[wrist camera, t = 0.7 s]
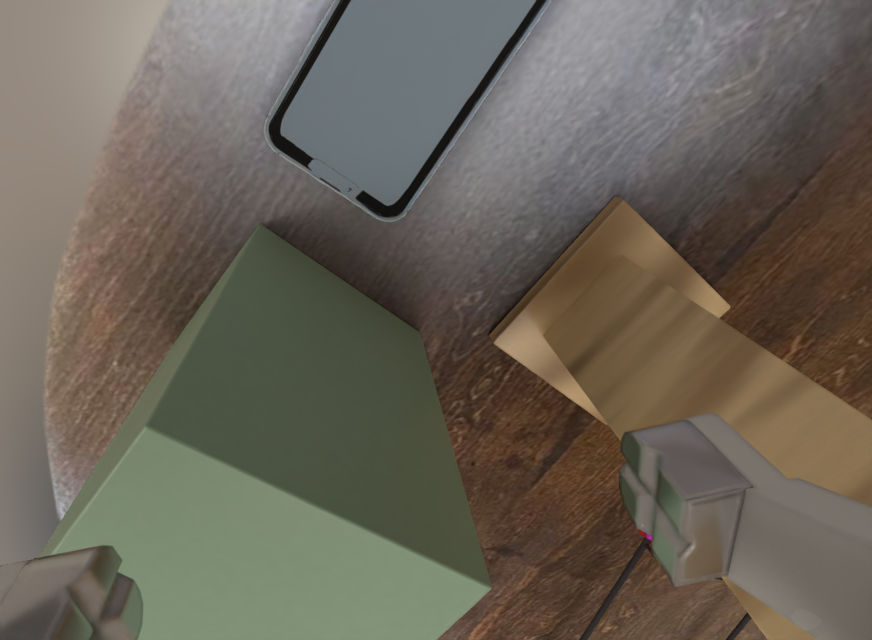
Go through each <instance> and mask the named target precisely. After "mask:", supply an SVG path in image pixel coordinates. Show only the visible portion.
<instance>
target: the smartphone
mask: <svg viewBox="0 0 872 640" xmlns="http://www.w3.org/2000/svg"><path fill="white" fill-rule="evenodd" d="M552 1H553V0H334V1H333V2H332V4H331V6H330V8H329V9H328V11H327V13H326V14H325V16H324V18H323V20H322V21H320V23H319V24H318V26H317V28H316V30H315V31H314V33H313V35H312V37H311V38H310V40H309V42H308V44H307V45H306V47H305V49H304V51H303V52H302V54H301V58H300V60H299V61H298V63H297V65H296V67H295V68H294V70H293V72H292V74H291V75H290V77H289V79H288V81H287V82H286V84H285V86H284V88H283V89H282V91H281V93H280V95H279V96H278V98H277V100H276V102H275V103H274V105H273V107H272V108H271V110H270V112H269V114H268V115H267V117H266V120H265V122H264V129H263V130H264V136H265V140H266V142H267V144H268V145H269V147H270V148H271V149H272V150H273V151H274V152H275V153H277V154H278V155H280V156H281V157H283V158H284V159H286V160H287V161H289V162H290V163H292V164H293V165H295V166H296V167H298V168H299V169H301V170H302V171H304V172H306V173H307V174H309V175H310V176H312V177H313V178H315V179H316V180H318V181H319V182H321V183H322V184H324V185H325V186H327V187H328V188H330V189H332V190H333V191H335V192H336V193H338V194H339V195H341V196H342V197H344V198H345V199H347V200H348V201H350V202H351V203H353V204H354V205H356V206H357V207H359V208H361V209H362V210H364V211H365V212H367V213H368V214H370V215H371V216H373V217H374V218H376V219H378V220H379V221H382V222H395V221H398V220H400V219H402V218H403V217H404V216H405V215H406V214H407V213H408V211H409V210H410V208H411V207H412V205H413V204H414V203H415V201H416V200H417V198H418V197H419V195H420V194H421V192H422V191H423V189H424V188H425V187H426V185H427V184H428V182H429V181H430V179H431V178H432V176H433V175H434V173H435V172H436V170H437V169H438V168H439V166H440V165H441V163H442V162H443V160H444V159H445V157H446V156H447V154H448V153H449V152H450V150H451V149H452V147H453V146H454V144H455V143H456V141H457V140H458V138H459V137H460V135H461V134H462V133H463V131H464V130H465V128H466V127H467V125H468V124H469V122H470V121H471V119H472V118H473V116H474V115H475V113H476V112H477V111H478V109H479V108H480V106H481V105H482V103H483V102H484V100H485V99H486V97H487V96H488V94H489V93H490V92H491V90H492V89H493V87H494V86H495V84H496V83H497V81H498V80H499V78H500V77H501V75H502V74H503V73H504V71H505V70H506V68H507V67H508V65H509V64H510V62H511V61H512V59H513V58H514V56H515V55H516V54H517V52H518V51H519V49H520V48H521V46H522V45H523V43H524V42H525V40H526V39H527V38H528V36H529V35H530V33H531V32H532V30H533V29H534V27H535V26H536V24H537V23H538V21H539V20H540V19H541V17H542V16H543V14H544V13H545V11H546V10H547V8H548V7H549V5H550V4H551V2H552Z"/></svg>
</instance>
